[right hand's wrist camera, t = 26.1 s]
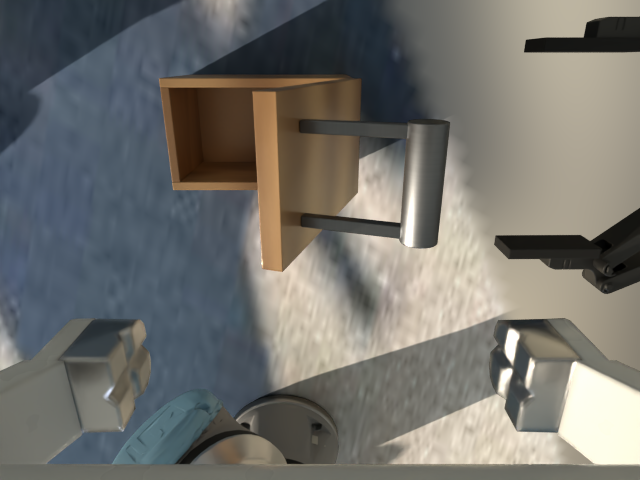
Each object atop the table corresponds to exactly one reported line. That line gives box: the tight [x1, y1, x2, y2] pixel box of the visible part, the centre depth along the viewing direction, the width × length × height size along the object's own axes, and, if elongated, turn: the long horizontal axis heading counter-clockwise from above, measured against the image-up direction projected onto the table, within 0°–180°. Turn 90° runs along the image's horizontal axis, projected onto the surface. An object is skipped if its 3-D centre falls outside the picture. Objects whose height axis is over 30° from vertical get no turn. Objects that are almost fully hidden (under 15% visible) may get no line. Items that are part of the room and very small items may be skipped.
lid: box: [253, 78, 450, 272], centre depth 29 cm, size 16×9×9 cm
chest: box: [159, 75, 352, 190], centre depth 42 cm, size 16×9×9 cm, turn 90°
